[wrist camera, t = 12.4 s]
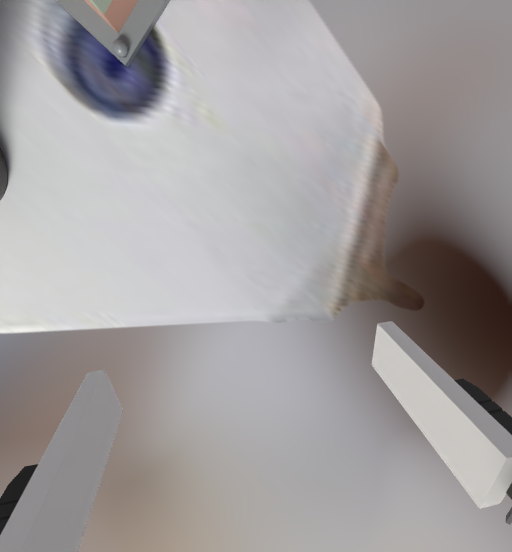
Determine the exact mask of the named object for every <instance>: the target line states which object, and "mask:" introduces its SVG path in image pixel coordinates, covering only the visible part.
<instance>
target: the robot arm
mask: <svg viewBox="0 0 512 552" xmlns="http://www.w3.org/2000/svg"><path fill="white" fill-rule="evenodd" d="M6 185H7V167H6V162H5V159H4V156H3V153H2V151H1V148H0V200H1V198H2V197H3V194H4V192H5V189H6ZM372 366H373V367H374V368H375V370H376V371H377V373H378V374H379V375H380V377H381V378H382V379H383V380H384V382H385V383H386V384H387V386H388V387H389V389H390V390H391V391H392V392H393V394H394V395H395V397H396V398H397V399H398V401H399V402H400V403H401V404H402V406H403V407H404V409H405V410H406V411H407V412H408V414H409V415H410V417H411V418H412V419H413V421H414V422H415V423H416V425H417V426H418V427H419V428H420V430H421V431H422V433H423V434H424V435H425V436H426V438H427V439H428V440H429V442H430V443H431V444H432V446H433V447H434V449H435V450H436V451H437V453H438V454H439V455H440V457H441V458H442V459H443V461H444V462H445V463H446V465H447V466H448V467H449V469H450V470H451V471H452V472H453V474H454V475H455V477H456V478H457V479H458V480H459V482H460V483H461V484H462V486H463V487H464V489H465V490H466V491H467V493H468V494H469V495H470V497H471V498H472V499H473V500H474V502H475V503H476V504H477V506H478V507H479V508H484V507H488V506H492V505H496V504H499V503H501V501H502V500H503V498H504V496H505V494H506V493H507V494H508V496H509V497H510V498H511V499H512V417H511V416H509V415H508V414H507V413H506V412H505V411H503V410H502V408H501V407H499V406H498V405H497V404H496V403H495V402H492V400H491V399H490V398H489V397H488V396H487V395H486V394H485V393H484V392H483V391H481V390H480V389H479V388H478V387H476V386H475V385H473V384H471V383H469V382H467V381H466V380H464V379H459V380H453V379H452V378H451V377H450V376H449V375H448V374H447V373H446V372H445V371H444V370H443V369H441V367H439V366H438V365H437V364H436V363H435V362H434V361H433V360H432V359H431V358H430V357H429V356H428V355H426V353H424V351H423V350H422V349H421V348H419V347H418V346H417V345H416V344H415V343H414V342H413V341H412V340H411V339H410V338H409V337H408V336H407V335H406V334H405V333H404V332H403V331H402V330H401V329H399V328H398V327H397V326H396V325H395V324H394V323H393V322H392V321H390V322H384V323H378V324H377V331H376V338H375V345H374V352H373V359H372ZM122 413H123V409H122V407H121V405H120V402H119V400H118V398H117V396H116V393H115V391H114V388H113V386H112V384H111V382H110V379H109V377H108V375H107V372H106V370H100V371H95V372H89V373H87V374H86V376H85V378H84V380H83V382H82V384H81V386H80V387H79V389H78V391H77V393H76V395H75V397H74V399H73V401H72V402H71V405H70V406H69V408H68V410H67V412H66V414H65V416H64V417H63V419H62V421H61V423H60V425H59V427H58V429H57V431H56V432H55V434H54V436H53V438H52V440H51V442H50V444H49V445H48V447H47V449H46V451H45V453H44V455H43V457H42V458H41V460H40V462H39V464H37V465H31V466H26V467H24V468H23V469H22V470H21V471H20V473H19V474H18V475H17V476H16V477H15V478H14V479H13V480H12V481H11V482H10V484H9V485H8V486H7V488H6V490H5V491H4V493H3V495H2V496H1V498H0V552H78V549H79V546H80V543H81V540H82V537H83V534H84V531H85V528H86V525H87V522H88V518H89V515H90V512H91V509H92V506H93V503H94V500H95V497H96V494H97V491H98V488H99V484H100V481H101V478H102V475H103V472H104V469H105V466H106V463H107V459H108V457H109V454H110V450H111V447H112V444H113V441H114V438H115V435H116V432H117V428H118V426H119V422H120V419H121V416H122ZM506 523H508V524H511V523H512V508H511V509H510V511H509V512H508V514H507V515H506Z"/></svg>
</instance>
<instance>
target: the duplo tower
mask: <svg viewBox="0 0 512 552" xmlns="http://www.w3.org/2000/svg"><path fill="white" fill-rule="evenodd" d="M55 1H56V2H57V3H58V4H60V5H61V6H62V7H63V8H64V9H65V10H66V11H67V12H68V13H69V14H70V15H71V16H72V17H74V18H75V19H76V20H77V21H78V22H79V23H80V24H81V25H82V26H83V27H84V28H85V29H86V30H88V31H89V32H90V33H91V34H92V35H93V36H94V37H95V38H96V39H97V40H98V41H99V42H100V43H102V44H103V45H104V46H105V47H106V48H107V49H108V50H109V51H110V52H111V53H112V54H113V55H114V56H116V57H117V58H118V59H119V60H120V61H121V62H122V63H123V64H124V65H125V66H126V67H127V68H128V67H129V65H130V64H131V62H132V61H133V59H134V57H135V56H136V54H137V53H138V51H139V49H140V48H141V46H142V45H143V43H144V41H145V40H146V38H147V37H148V35H149V33H150V32H151V30H152V29H153V27H154V25H155V24H156V22H157V21H158V19H159V17H160V16H161V14H162V13H163V11H164V9H165V8H166V6H167V5H168V3H169V1H170V0H55Z"/></svg>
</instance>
